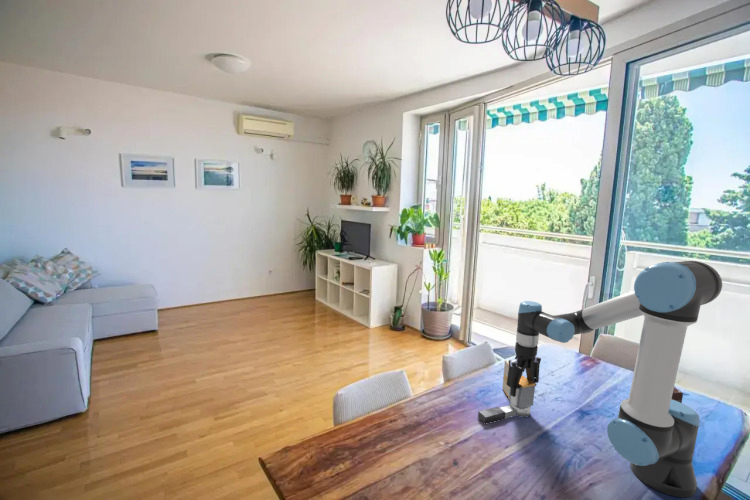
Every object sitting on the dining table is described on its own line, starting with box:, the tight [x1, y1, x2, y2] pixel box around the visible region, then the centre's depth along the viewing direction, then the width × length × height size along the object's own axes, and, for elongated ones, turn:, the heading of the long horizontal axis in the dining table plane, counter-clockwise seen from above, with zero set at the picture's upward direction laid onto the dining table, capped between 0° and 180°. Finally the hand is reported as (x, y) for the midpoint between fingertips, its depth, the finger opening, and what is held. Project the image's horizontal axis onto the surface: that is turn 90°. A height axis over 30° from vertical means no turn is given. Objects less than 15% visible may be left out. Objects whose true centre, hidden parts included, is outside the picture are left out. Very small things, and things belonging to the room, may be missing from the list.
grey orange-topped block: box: [508, 375, 536, 408], centre depth 136 cm, size 6×6×9 cm
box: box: [671, 386, 684, 404], centre depth 144 cm, size 6×6×7 cm
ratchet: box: [477, 402, 532, 425], centre depth 133 cm, size 22×7×8 cm, turn 113°
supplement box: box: [502, 359, 520, 399], centre depth 148 cm, size 8×5×13 cm, turn 179°
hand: (520, 401), depth 136 cm, fingers closed on grey orange-topped block, 6 cm apart
